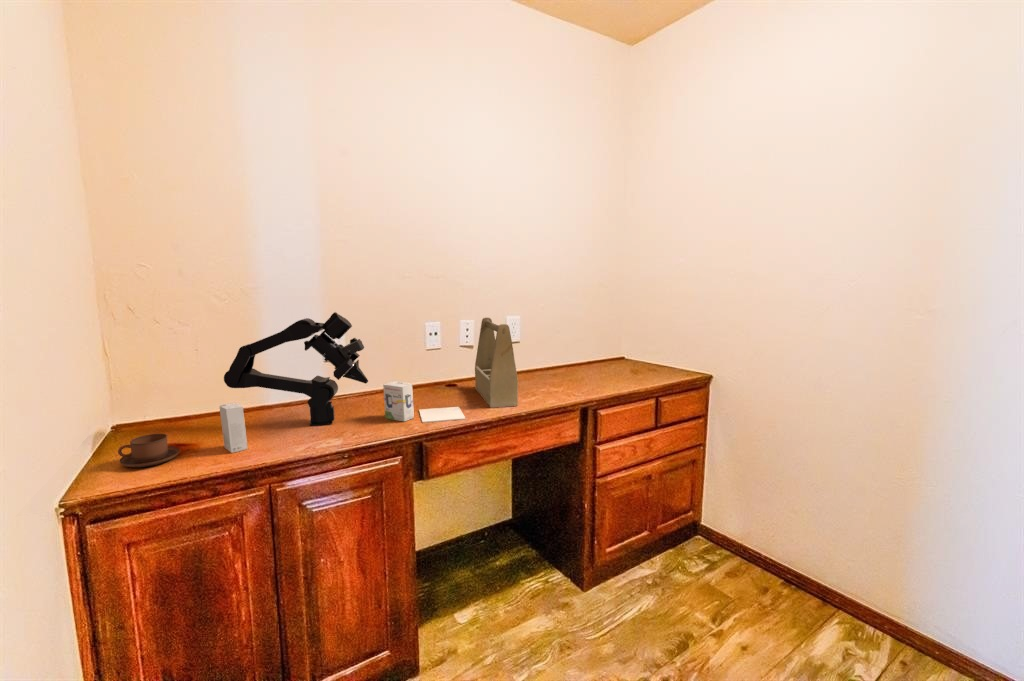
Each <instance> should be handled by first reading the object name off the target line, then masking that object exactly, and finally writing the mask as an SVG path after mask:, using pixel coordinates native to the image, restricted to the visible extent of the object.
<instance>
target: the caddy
mask: <svg viewBox="0 0 1024 681" xmlns="http://www.w3.org/2000/svg"><path fill="white" fill-rule="evenodd" d="M495 334H496V335H495ZM475 356H476V357H475V363H474V380H475V382H474V383H475V390H476V392H477V393H478V394H479V395H480V396H481V397H482V399H483V400H484V401H485V403H486V404H487V405H488V406H489V408H491V409H495V408H505V407H507V408H508V407H517V406H518V404H519V403H518V402H519V399H518V397H519V392H518V391H519V390H518V389H519V386H518V385H519V383H518V382H519V379H518V373H517V372H518V371H517V368H516V360H515V354H514V347H513V342H512V335H511V330H510V326H509V324H506V323H500V324H499V325H498V324H496V323H494V322H493V321H492V319H491V318H490V317H483V318H482V320H481V323H480V329H479V336H478V343H477V349H476V355H475Z"/></svg>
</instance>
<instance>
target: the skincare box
mask: <svg viewBox="0 0 1024 681" xmlns="http://www.w3.org/2000/svg"><path fill="white" fill-rule="evenodd" d="M219 414H220V423H221V428H222V429H221V430H222V437H223V438H222V439H223V445H224V449H226V450H227V451H229V453H231V454H232V453H237V452H238V453H239V452H242V451H245V450H246V451H247V450H248V440H247V439H248V438H247V430H246V424H245V423H246V422H245V415H244V414H245V413H244V406H243V405H240V404H238V402H233V403H226V404H222V405H219Z"/></svg>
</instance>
